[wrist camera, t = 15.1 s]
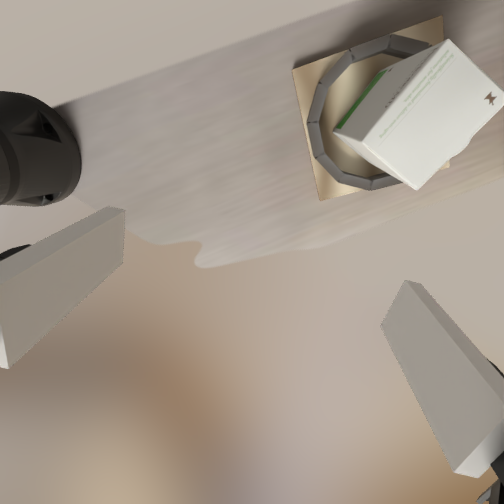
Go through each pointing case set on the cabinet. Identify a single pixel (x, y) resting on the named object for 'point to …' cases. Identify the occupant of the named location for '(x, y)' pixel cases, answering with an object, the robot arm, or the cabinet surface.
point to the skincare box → (420, 113)
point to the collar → (341, 100)
